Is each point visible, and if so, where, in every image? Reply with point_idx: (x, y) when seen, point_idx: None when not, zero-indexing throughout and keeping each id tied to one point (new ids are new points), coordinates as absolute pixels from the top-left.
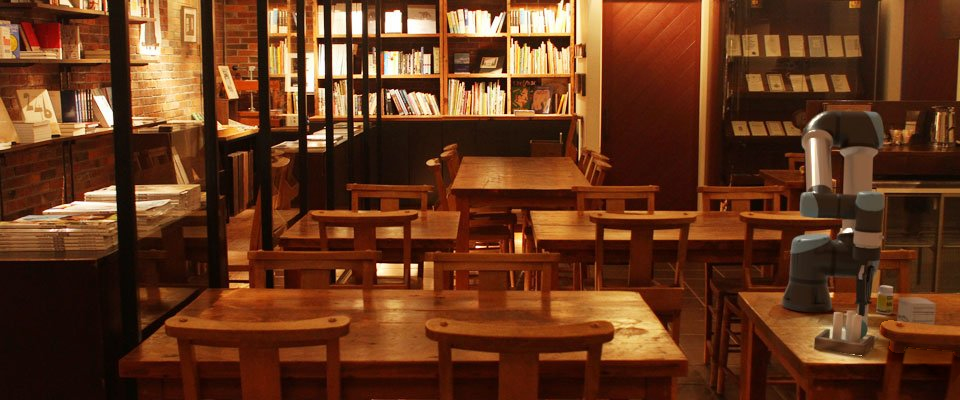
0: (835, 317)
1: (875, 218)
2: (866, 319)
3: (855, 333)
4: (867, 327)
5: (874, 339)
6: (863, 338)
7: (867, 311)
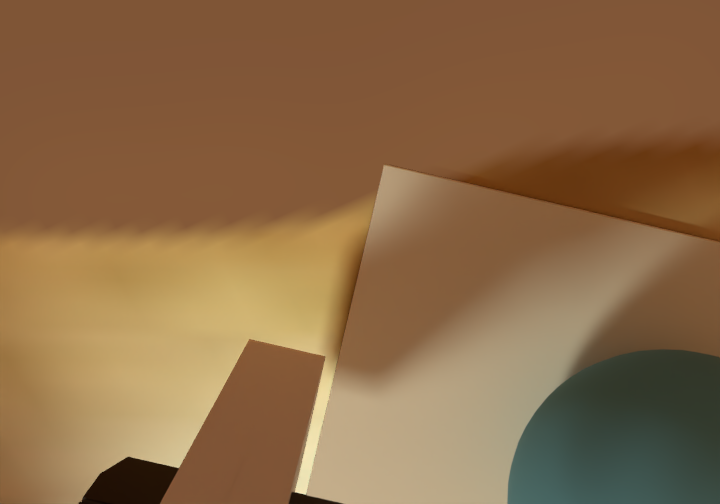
0: None
1: None
2: (302, 417)
3: None
4: (717, 387)
5: (592, 213)
6: (595, 346)
7: (232, 496)
